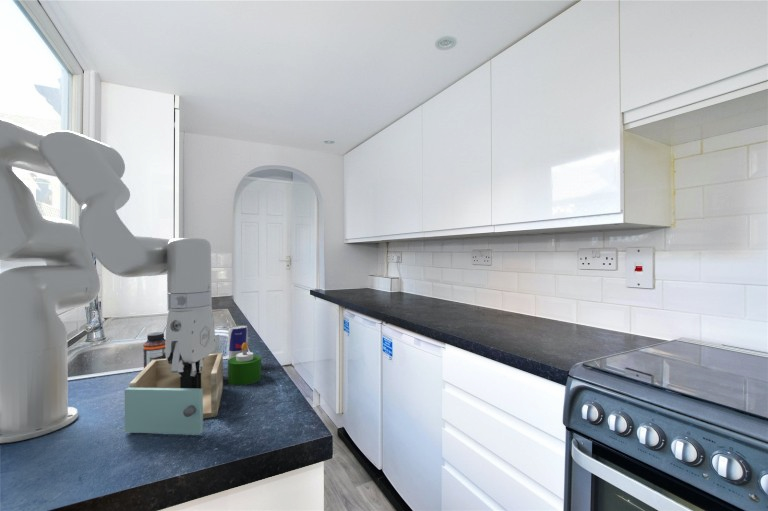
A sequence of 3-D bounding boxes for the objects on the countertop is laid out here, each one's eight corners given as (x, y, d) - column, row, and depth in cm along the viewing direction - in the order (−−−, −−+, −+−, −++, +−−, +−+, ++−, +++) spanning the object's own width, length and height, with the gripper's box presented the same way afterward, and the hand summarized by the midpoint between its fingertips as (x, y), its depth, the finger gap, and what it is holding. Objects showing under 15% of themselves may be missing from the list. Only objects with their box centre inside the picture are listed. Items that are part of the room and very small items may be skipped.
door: (119, 435, 62) (119, 392, 62) (129, 429, 64) (128, 387, 64) (195, 437, 61) (195, 393, 61) (203, 431, 63) (202, 388, 63)
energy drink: (241, 370, 99) (240, 329, 99) (224, 369, 100) (224, 328, 100) (251, 364, 104) (251, 325, 104) (236, 363, 105) (235, 325, 105)
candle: (233, 374, 95) (233, 339, 95) (264, 373, 96) (263, 338, 96) (223, 386, 87) (223, 347, 87) (256, 384, 88) (256, 345, 88)
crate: (129, 430, 65) (129, 383, 65) (152, 398, 80) (152, 360, 80) (216, 416, 70) (216, 372, 70) (223, 388, 85) (222, 352, 85)
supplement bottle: (146, 370, 99) (146, 332, 99) (170, 368, 102) (170, 330, 102) (140, 377, 94) (140, 336, 94) (165, 374, 96) (165, 334, 96)
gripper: (188, 306, 59) (189, 411, 59) (226, 296, 74) (227, 380, 74) (144, 307, 59) (145, 412, 59) (191, 296, 74) (192, 381, 74)
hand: (191, 394), depth 66 cm, fingers closed
